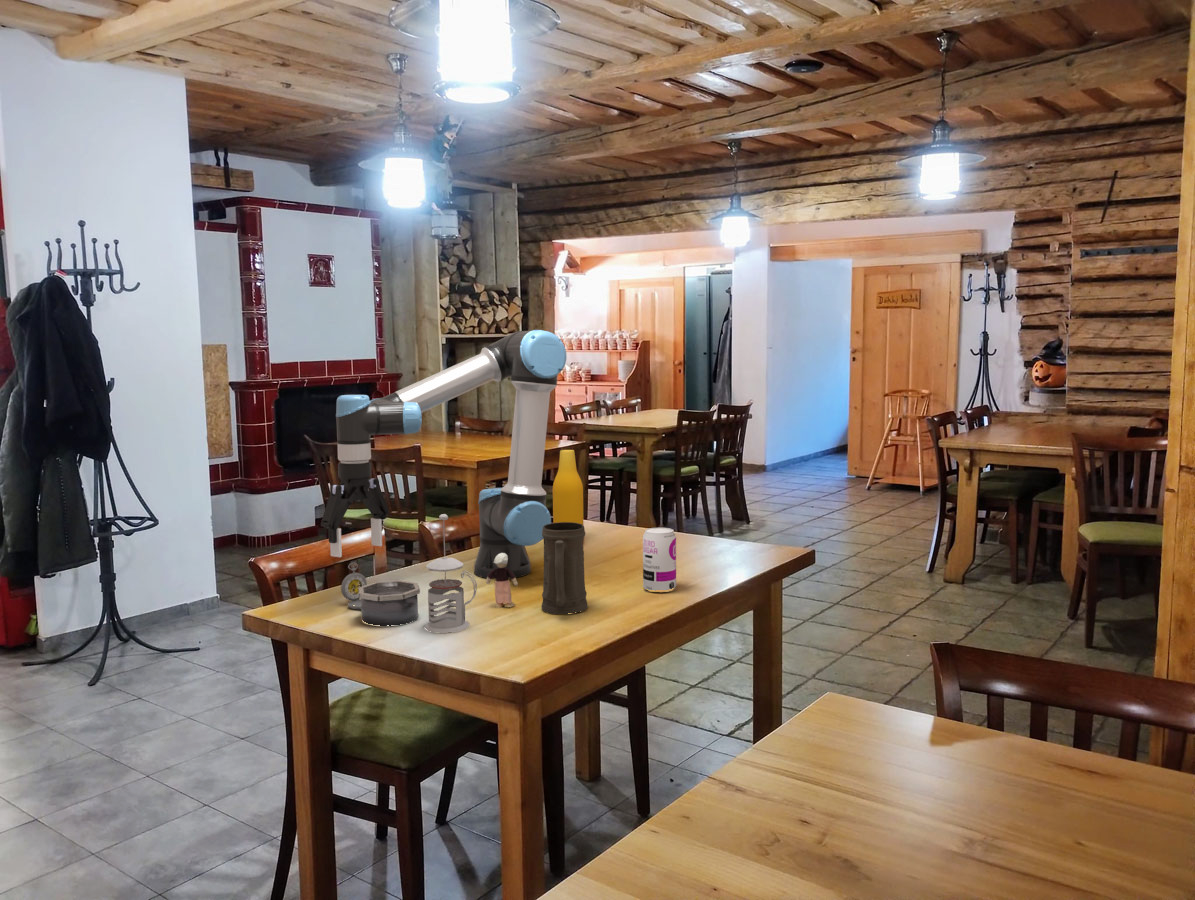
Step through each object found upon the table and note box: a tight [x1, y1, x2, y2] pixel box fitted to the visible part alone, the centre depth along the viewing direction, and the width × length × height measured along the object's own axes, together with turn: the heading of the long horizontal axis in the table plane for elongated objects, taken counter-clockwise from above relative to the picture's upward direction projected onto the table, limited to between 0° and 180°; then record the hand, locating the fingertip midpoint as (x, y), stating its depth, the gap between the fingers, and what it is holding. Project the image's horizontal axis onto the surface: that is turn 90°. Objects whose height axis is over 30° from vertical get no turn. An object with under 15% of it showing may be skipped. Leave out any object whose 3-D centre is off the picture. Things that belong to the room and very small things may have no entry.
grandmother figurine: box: [485, 553, 519, 608], centre depth 224 cm, size 8×4×13 cm, turn 91°
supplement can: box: [642, 527, 677, 591], centre depth 236 cm, size 8×8×15 cm
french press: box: [424, 513, 478, 634], centre depth 208 cm, size 10×12×25 cm
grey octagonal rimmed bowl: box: [358, 579, 421, 627], centre depth 215 cm, size 13×13×7 cm
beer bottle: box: [552, 449, 585, 545], centre depth 287 cm, size 9×9×29 cm
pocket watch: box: [340, 562, 368, 610], centre depth 226 cm, size 8×8×10 cm
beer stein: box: [541, 522, 589, 615], centre depth 218 cm, size 15×11×20 cm
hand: (357, 550), depth 224 cm, fingers open, 13 cm apart
